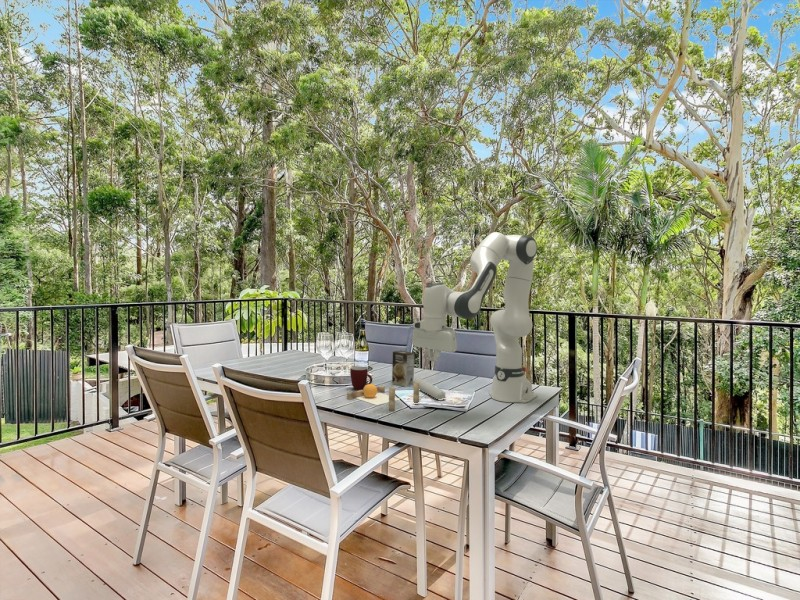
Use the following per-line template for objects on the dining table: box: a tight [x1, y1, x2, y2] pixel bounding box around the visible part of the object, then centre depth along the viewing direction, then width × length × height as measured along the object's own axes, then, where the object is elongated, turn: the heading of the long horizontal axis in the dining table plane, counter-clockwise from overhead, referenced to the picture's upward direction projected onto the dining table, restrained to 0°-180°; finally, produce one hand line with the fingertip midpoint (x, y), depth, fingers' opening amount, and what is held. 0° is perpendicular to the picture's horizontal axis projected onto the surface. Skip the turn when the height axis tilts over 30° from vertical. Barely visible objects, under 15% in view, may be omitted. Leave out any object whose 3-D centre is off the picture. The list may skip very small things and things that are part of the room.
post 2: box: [412, 382, 420, 403], centre depth 192 cm, size 2×2×9 cm
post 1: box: [388, 386, 396, 412], centre depth 182 cm, size 2×2×9 cm
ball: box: [363, 383, 377, 398], centre depth 200 cm, size 6×6×6 cm
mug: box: [349, 366, 373, 391], centre depth 214 cm, size 10×8×10 cm
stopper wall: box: [346, 385, 386, 400], centre depth 204 cm, size 20×2×2 cm, turn 134°
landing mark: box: [355, 392, 401, 406], centre depth 199 cm, size 14×14×1 cm
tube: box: [412, 377, 446, 399], centre depth 208 cm, size 5×5×25 cm
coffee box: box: [391, 350, 415, 388], centre depth 225 cm, size 9×6×16 cm
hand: (433, 360), depth 177 cm, fingers closed
